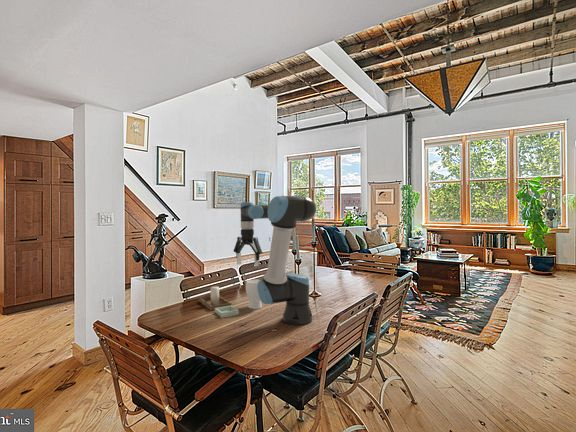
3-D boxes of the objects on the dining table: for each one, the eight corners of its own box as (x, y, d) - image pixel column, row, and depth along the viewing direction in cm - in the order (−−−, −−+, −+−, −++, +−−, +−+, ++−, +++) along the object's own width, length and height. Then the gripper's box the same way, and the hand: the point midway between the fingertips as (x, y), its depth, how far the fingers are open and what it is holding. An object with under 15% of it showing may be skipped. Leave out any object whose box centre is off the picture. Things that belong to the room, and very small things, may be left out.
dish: (238, 314, 180) (238, 310, 180) (221, 317, 175) (221, 313, 175) (231, 309, 188) (231, 305, 188) (214, 312, 183) (214, 308, 183)
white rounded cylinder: (220, 304, 196) (220, 287, 196) (212, 306, 193) (212, 288, 193) (217, 302, 200) (217, 286, 200) (209, 303, 197) (209, 287, 197)
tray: (231, 308, 191) (231, 303, 191) (211, 311, 185) (211, 306, 185) (218, 299, 209) (218, 294, 209) (199, 302, 202) (199, 297, 202)
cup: (261, 310, 187) (261, 283, 186) (243, 309, 189) (243, 283, 188) (266, 305, 197) (266, 279, 196) (249, 304, 199) (249, 278, 199)
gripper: (268, 228, 192) (268, 266, 192) (236, 228, 206) (236, 262, 207) (259, 229, 186) (260, 267, 186) (227, 228, 200) (227, 264, 201)
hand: (247, 265), depth 196 cm, fingers open, 13 cm apart
